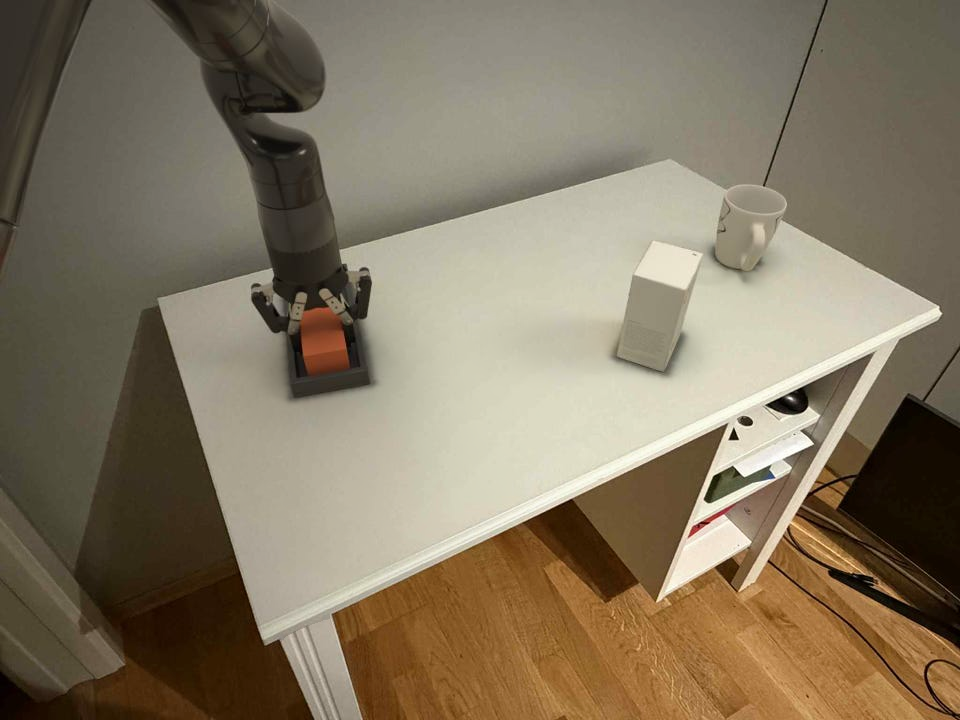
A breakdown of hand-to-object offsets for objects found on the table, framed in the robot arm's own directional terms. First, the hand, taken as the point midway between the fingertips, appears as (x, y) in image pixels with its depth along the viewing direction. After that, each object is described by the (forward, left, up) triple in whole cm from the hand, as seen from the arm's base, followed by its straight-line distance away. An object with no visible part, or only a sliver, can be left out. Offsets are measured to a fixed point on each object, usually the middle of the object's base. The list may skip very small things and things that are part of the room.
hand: (325, 346), depth 80 cm
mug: (+55, -27, -2) cm, 62 cm away
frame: (+2, +4, -2) cm, 5 cm away
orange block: (0, 0, 0) cm, 0 cm away
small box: (+30, -28, -2) cm, 41 cm away
